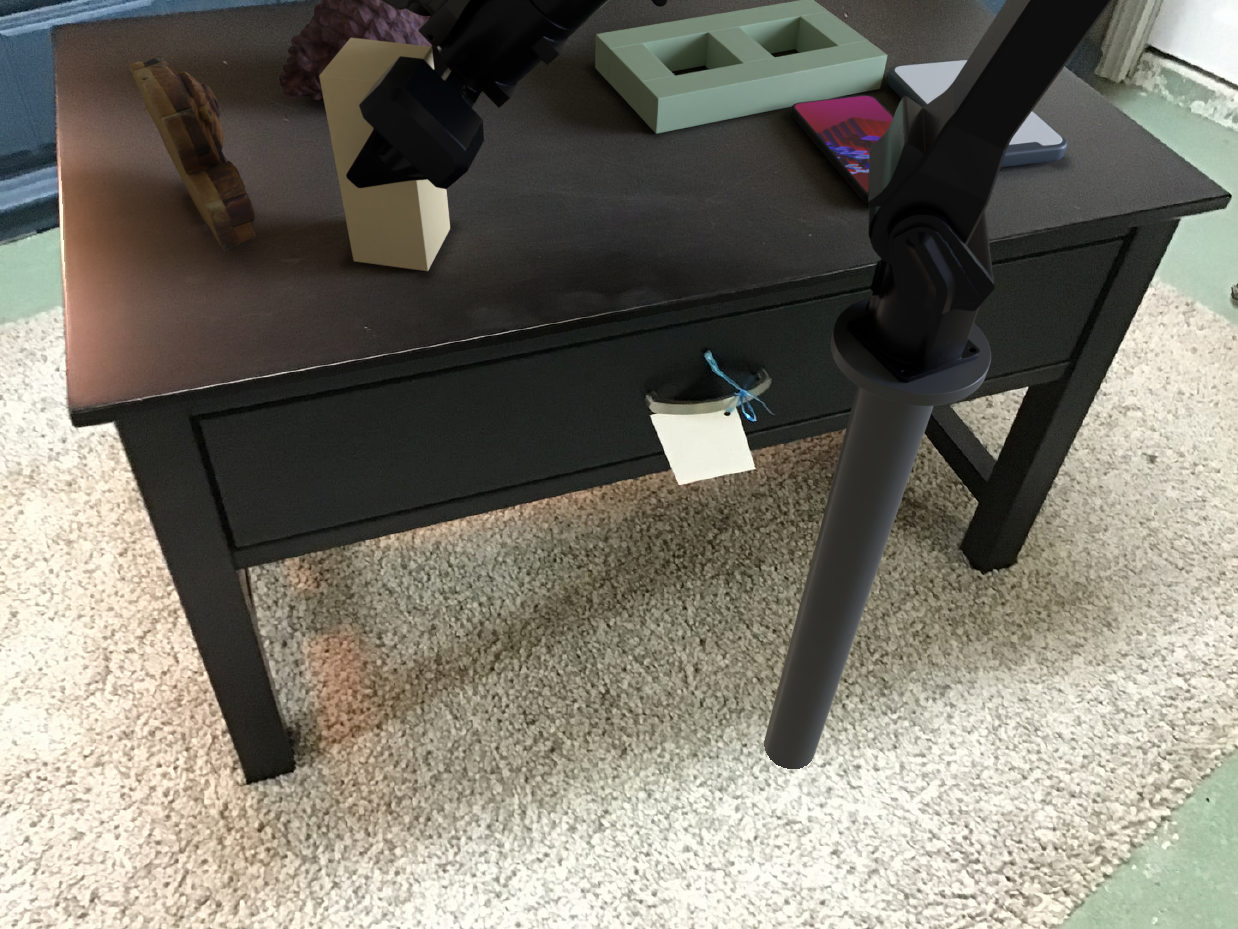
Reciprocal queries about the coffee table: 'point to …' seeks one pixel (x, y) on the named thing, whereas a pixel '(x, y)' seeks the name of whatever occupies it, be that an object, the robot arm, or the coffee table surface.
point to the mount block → (737, 64)
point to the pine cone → (343, 39)
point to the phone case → (935, 78)
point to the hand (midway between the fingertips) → (378, 143)
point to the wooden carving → (197, 148)
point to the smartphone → (845, 133)
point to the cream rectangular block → (392, 213)
